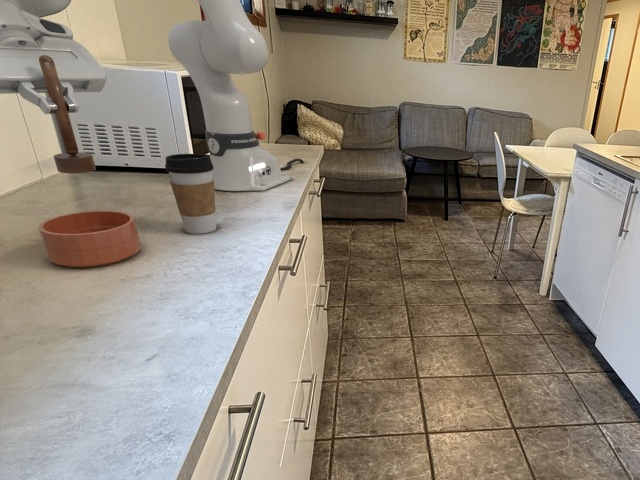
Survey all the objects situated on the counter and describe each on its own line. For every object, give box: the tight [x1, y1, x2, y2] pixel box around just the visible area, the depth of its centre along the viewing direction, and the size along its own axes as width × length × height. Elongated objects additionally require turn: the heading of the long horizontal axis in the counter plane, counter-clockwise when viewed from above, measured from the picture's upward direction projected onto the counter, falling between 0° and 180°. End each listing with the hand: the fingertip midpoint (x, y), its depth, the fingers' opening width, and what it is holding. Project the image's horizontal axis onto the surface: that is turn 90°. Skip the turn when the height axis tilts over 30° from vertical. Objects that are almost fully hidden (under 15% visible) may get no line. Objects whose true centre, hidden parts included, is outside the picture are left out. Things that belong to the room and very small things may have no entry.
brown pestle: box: [39, 55, 97, 174], centre depth 75 cm, size 5×5×17 cm
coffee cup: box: [164, 153, 217, 235], centre depth 94 cm, size 8×8×15 cm
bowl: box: [37, 210, 142, 268], centre depth 82 cm, size 13×13×6 cm
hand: (63, 110), depth 75 cm, fingers closed on brown pestle
